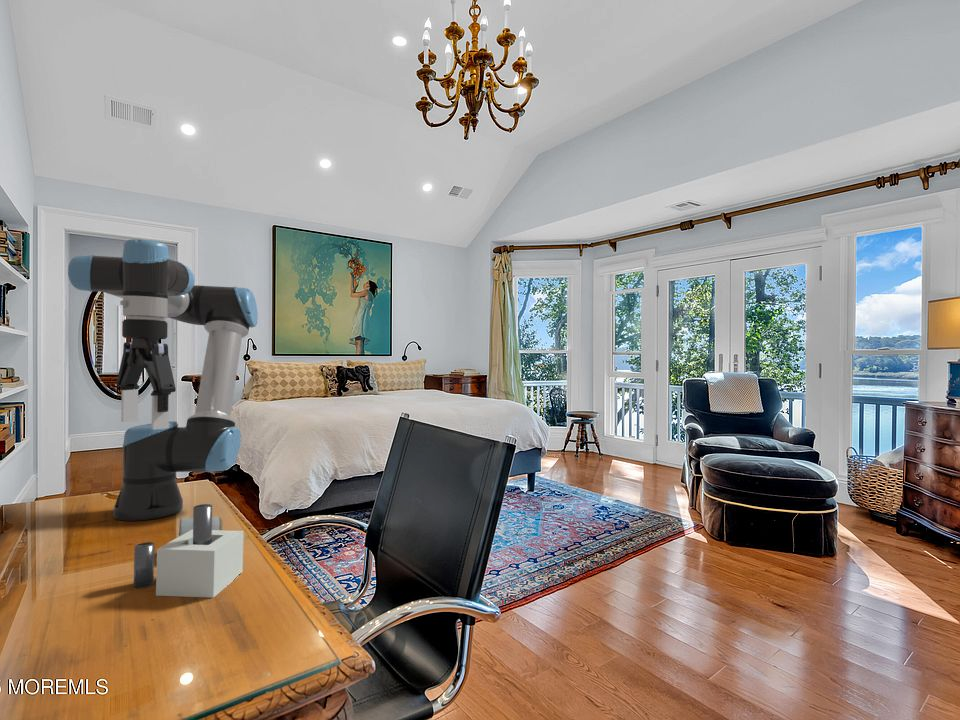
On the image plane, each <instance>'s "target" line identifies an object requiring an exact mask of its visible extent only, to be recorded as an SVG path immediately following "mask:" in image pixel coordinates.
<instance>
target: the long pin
mask: <svg viewBox="0 0 960 720" xmlns="http://www.w3.org/2000/svg"><path fill="white" fill-rule="evenodd" d="M192 512H193V513H192V518H193V545H209V544H211V543H212V517H213V505H212V504H210V503H209V504H208V503H205V504H204V503H203V504H199V505H194V506H193V510H192Z"/></svg>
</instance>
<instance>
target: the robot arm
mask: <svg viewBox="0 0 960 720" xmlns="http://www.w3.org/2000/svg"><path fill="white" fill-rule="evenodd" d="M67 266H68V269H67V274H68V275H67V276H68V280H69V282H70V284H71V285H72V286H73V287H74V288H75V289H76V290H79V291H86V292H87V291H88V292H91V293H93V292H100V293H101V292H102V293H104V294H108V295H111V296H115V297H117V298H119V299H122V300H120V301H119V304H120V306H122V315H123V316H124V317H126V319H123V320H122V321H121V323H122V327H121V332H122V333H121V334H122V337H123V338H125V339H131V342H129V341H128V342H124V343H123V346H122V347H123V349H122V350H123V351H122V356H121V361H120V366H119V371H118V375H117V378H116V379H117V380H116V386H117V387H119V388H120V390H121V416H120V417H121V423H124V422H125V423H126V422H135V421H136V422H137V421H138V420H139V389H140V386H139V384H138V383H139V380H140V378H141V376H142V373H143V370H146V374H147V377H148V379H149V381H150V384H151V387H152V391H151V393H150V396H151V423H147V424H146V423H145V424H141V425H135V426H131V427H130V428H128V429H126V430H125V432H124V436H123V443H122V454H123V455H122V456H123V457H122V462H123V463H122V484H121V485H122V486H121V488H120V491H119V493H118V496H117V498H116V501H115V504H114V506H113V514H112V515H113V518H114V519H116V520H118V521H127V522H131V521H132V522H135V521H136V522H138V521H149V520H154V519H160V518H164V517H168V516H172V515H175V514H177V513H179V512H181V511H182V510H183V508H184V507H183V506H184V500H183V496H182V494H181V491H180V487H179V485H178V483H177V473H189V472H190V473H191V472H192V473H194V472H195V473H196V472H197V473H199V472H201V473H202V472H206V473H214V472H223V471H227V470H229V469H231V467H233V464H234V463H235V462H236V460H237V457H238V455H239V452H240V448H241V447H240V446H241V443H242V440H241V437H242V435H241V434H242V433H241V430H240V428H238V427H236V421H235V420H234V419H233V418H232V417H231V414H232V413H231V412H232V407H233V406H232V405H233V399H234V393H235V386H236V380H237V374H238V373H237V372H238V366H239V359H240V354H241V353H240V352H241V347H242V340H243V338H245V337H247V336H248V335H249V331H250V328H255V327H257V324H258V319H259V318H258V317H259V316H258V314H259V313H258V307H257V301H256V298H255V295H254V293H253V291H252V290H251V289H249V288H247V287H238V286H214V285H199V284H198V285H197V284H196V285H195V275H194V273H193V271H192V270H191V269H190V268H189V267H188V266H186V265H185V264H184V263H182V262H180V261H176V260H173V259H170V255H169V248H168V246H167V244H165V243H162V242H160V241H156V240H155V241H154V240H148V239H141V238H139V239H137V238H134V239H133V238H132V239H128V240H126V241H125V242H124V244H123V249H122V256H121V257H120V256H118V257H117V256H106V255H105V256H103V255H94V254H91V255H90V254H89V255H77V256H74V257H72V259H70V261H69V263H68V265H67ZM167 318H168V319H172V320H175V321H178V322H182V323H186V324H190V325H195V326H196V325H197V326H203V327H204V330H205V331H206V332H207V333H208V338H207V342H206V343H207V344H206V348H205V355H204V361H203V366H202V371H201V377H200V383H199V389H198V390H199V391H198V395H197V400H196V407H195V412H194V413H193V414H192V415H191V416H189V417H188V418H187V420H186V426H181V427H180V426H179V424H178V422H177V421H175V420H173V421H169V419H170V418H169V417H170V416H169V415H170V412H169V410H170V409H169V408H170V396H171V394H172V393H175V392H176V384H175V379H174V375H173V370H172V366H171V361H170V358H169V357H170V356H169V345H168V343H160V342H159V341H160V340H165V339H166V340H167V338H168V327H169V326H168V325H169V324H168V322H167V321H165V319H167Z"/></svg>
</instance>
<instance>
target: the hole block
mask: <svg viewBox="0 0 960 720" xmlns="http://www.w3.org/2000/svg"><path fill="white" fill-rule="evenodd" d="M244 532H245V531H244V530H225V529H223V530H212V543H211V544H209V545H193V529H192V530H190V531H188V532H187V533H185V534H183V535H181V536H179V535H178V537H176V538H174V539H173V540H171V541H169V542H167V543H165V544H163V545H162V546H160V547H158V548H157V549H156V573H155V574H156V578H155V579H156V581H155V597H180V598H181V597H184V598H188V597H189V598H209V599H211V598H212V599H214V598H215V597H216V596H217V595H219V594H220V593H221V592H222V591H223V590H224V589H225V588H226V587H228V586H229V585H230V584H232V583H233V580H234V579H235V578H236V577H237V576H238V575H239V574H240V573H242V572H243V571H244V570H243V567H244V565H243V564H244V538H245V537H244ZM242 574H243V573H242ZM238 577H239V576H238ZM238 577H237V578H238ZM237 578H236V579H237ZM236 579H235V580H236ZM235 580H234V581H235ZM227 585H228V586H227Z"/></svg>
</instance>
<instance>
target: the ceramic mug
mask: <svg viewBox="0 0 960 720" xmlns="http://www.w3.org/2000/svg"><path fill="white" fill-rule="evenodd" d="M192 529H193V517H181V518H180V519H179V530H178V537H179V536H181V535H183V534H185V533H187V532H188V531H190V530H192ZM212 530H224V519H223V518H222V517H220V516H213V515H212Z"/></svg>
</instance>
